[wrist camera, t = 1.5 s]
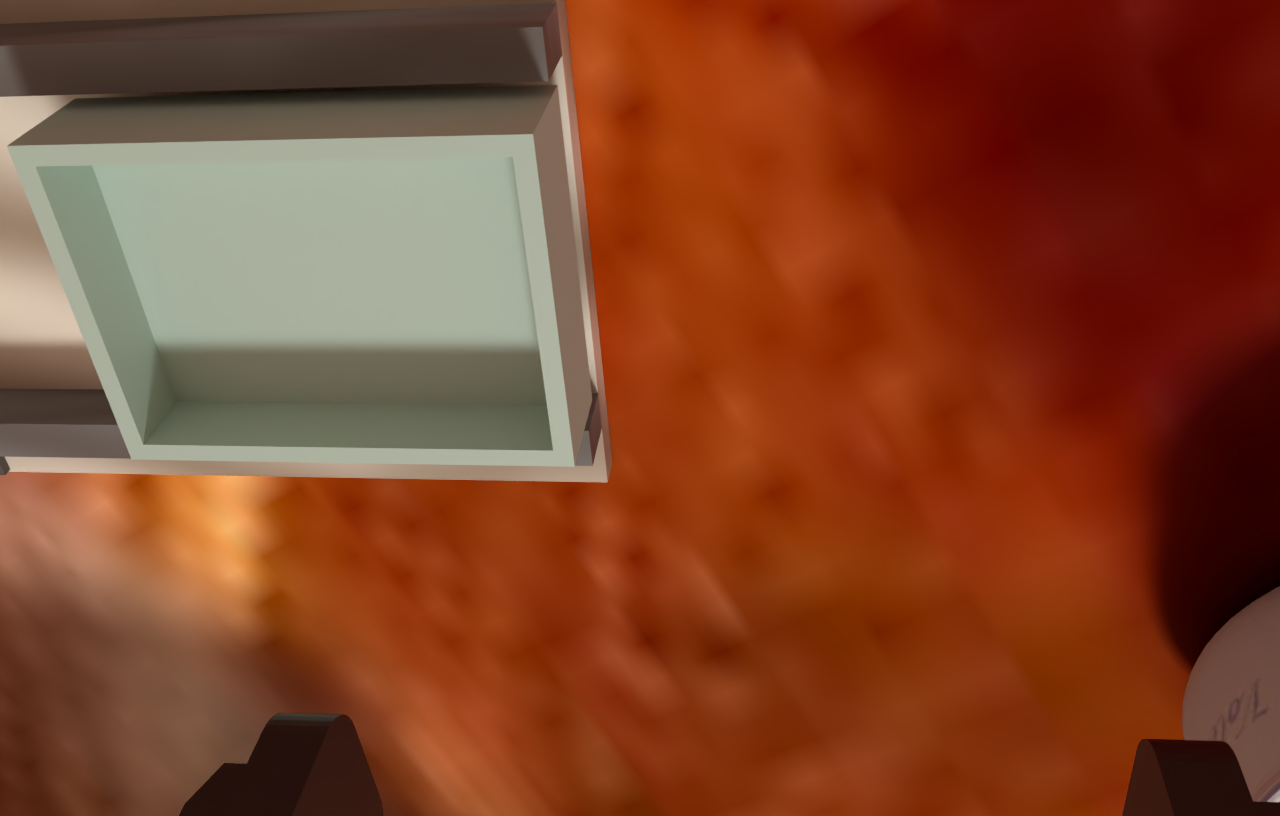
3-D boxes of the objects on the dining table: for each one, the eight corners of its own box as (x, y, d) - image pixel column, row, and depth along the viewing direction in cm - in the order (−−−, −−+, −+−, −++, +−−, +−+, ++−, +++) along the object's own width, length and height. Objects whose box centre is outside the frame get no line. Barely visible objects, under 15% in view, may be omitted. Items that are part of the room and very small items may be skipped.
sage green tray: (89, 88, 29) (6, 145, 26) (562, 74, 27) (533, 134, 24) (191, 382, 34) (131, 459, 31) (596, 385, 32) (574, 466, 29)
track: (-340, -56, 29) (-436, -27, 27) (554, -100, 26) (531, -71, 24) (-75, 450, 38) (-130, 505, 36) (611, 461, 35) (598, 521, 33)
